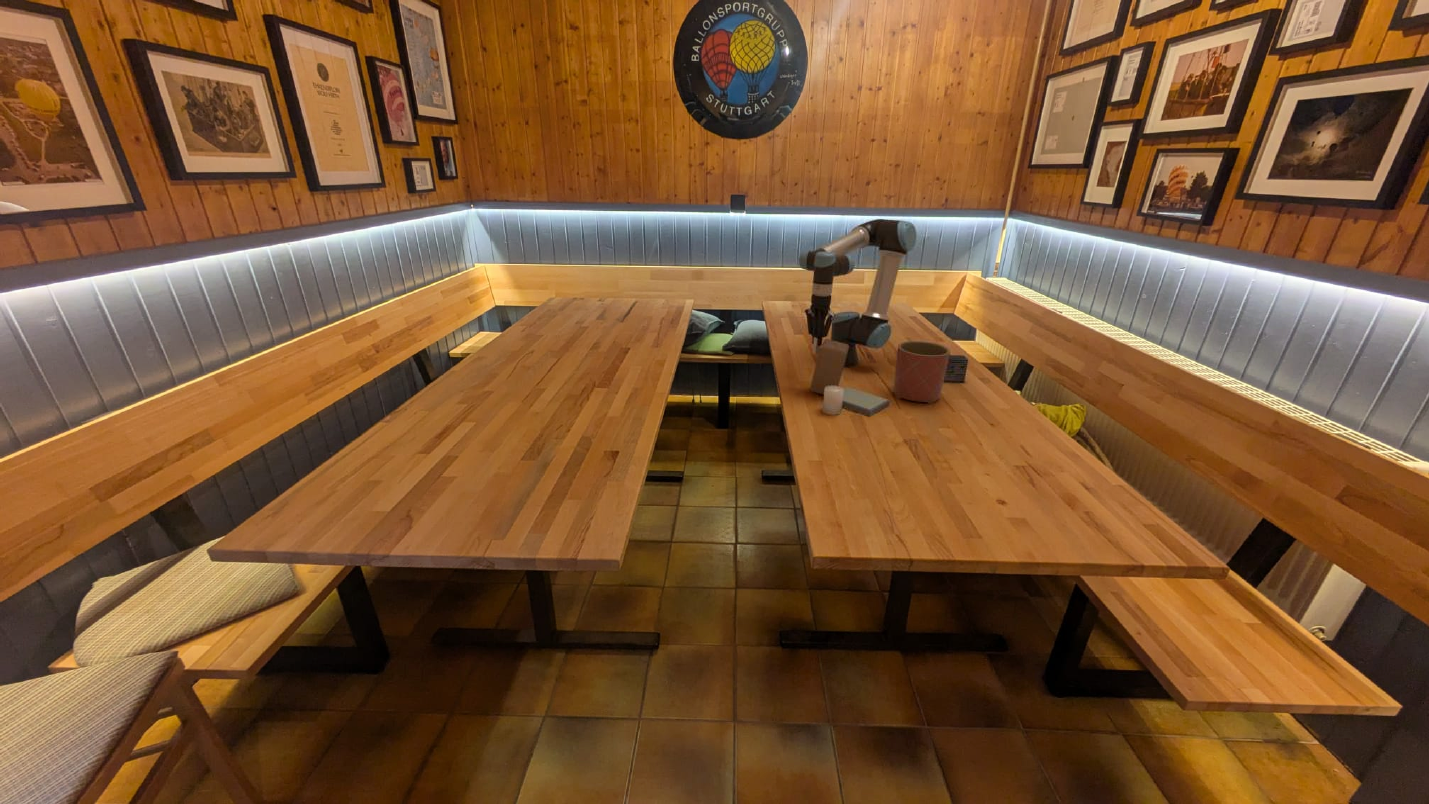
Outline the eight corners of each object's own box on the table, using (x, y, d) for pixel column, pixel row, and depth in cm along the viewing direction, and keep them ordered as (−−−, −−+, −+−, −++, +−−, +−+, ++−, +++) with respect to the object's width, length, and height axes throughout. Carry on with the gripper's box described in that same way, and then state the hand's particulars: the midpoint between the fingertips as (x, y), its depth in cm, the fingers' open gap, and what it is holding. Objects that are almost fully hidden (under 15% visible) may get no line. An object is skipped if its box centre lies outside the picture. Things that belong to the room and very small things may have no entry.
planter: (943, 391, 227) (951, 344, 219) (939, 408, 211) (948, 358, 203) (894, 383, 234) (901, 338, 226) (887, 400, 218) (894, 351, 210)
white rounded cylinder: (818, 411, 208) (820, 389, 204) (829, 405, 212) (831, 384, 209) (834, 416, 203) (837, 394, 200) (845, 411, 208) (847, 389, 204)
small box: (960, 377, 241) (964, 354, 237) (964, 383, 235) (969, 359, 231) (934, 376, 242) (939, 353, 238) (939, 382, 236) (943, 358, 232)
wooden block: (837, 388, 227) (850, 344, 218) (833, 398, 219) (846, 352, 209) (813, 382, 230) (825, 337, 220) (808, 391, 221) (820, 345, 212)
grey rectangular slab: (826, 401, 216) (827, 395, 215) (846, 392, 225) (847, 386, 224) (870, 416, 204) (870, 410, 203) (889, 405, 213) (889, 399, 212)
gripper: (802, 292, 214) (797, 351, 223) (830, 298, 205) (823, 358, 214) (813, 289, 218) (808, 347, 228) (841, 295, 210) (835, 354, 219)
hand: (816, 352), depth 221 cm, fingers closed
